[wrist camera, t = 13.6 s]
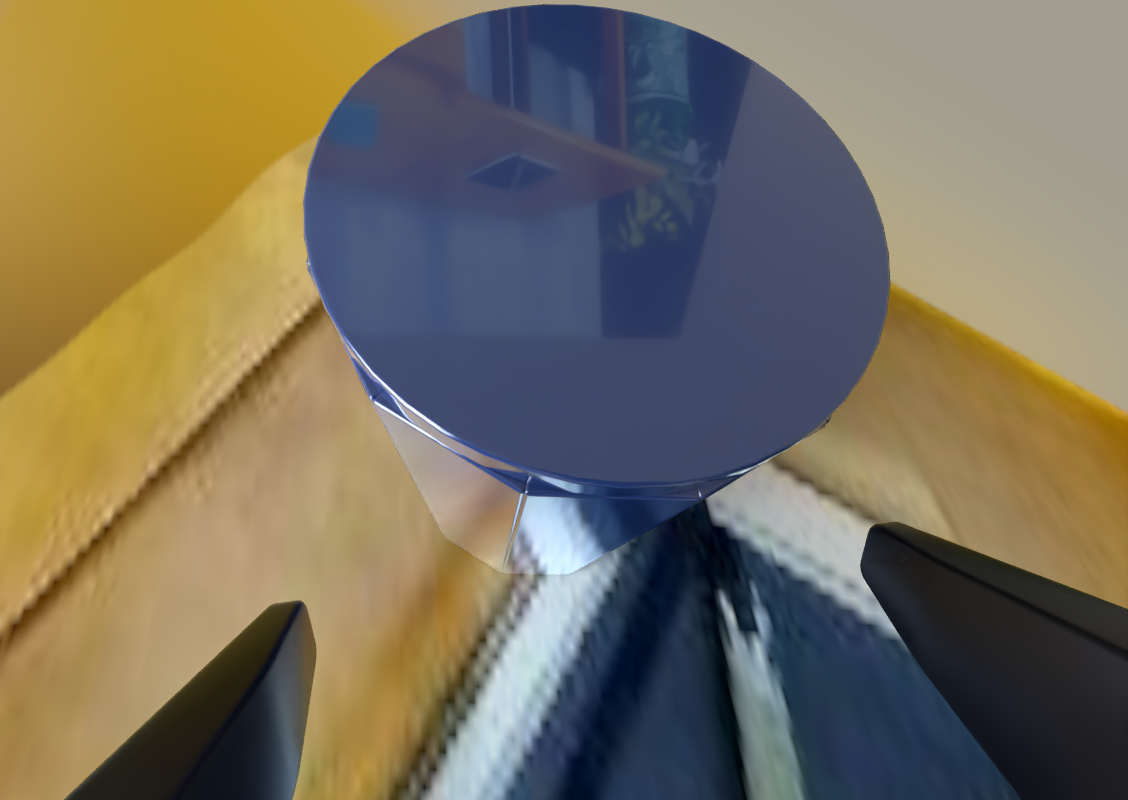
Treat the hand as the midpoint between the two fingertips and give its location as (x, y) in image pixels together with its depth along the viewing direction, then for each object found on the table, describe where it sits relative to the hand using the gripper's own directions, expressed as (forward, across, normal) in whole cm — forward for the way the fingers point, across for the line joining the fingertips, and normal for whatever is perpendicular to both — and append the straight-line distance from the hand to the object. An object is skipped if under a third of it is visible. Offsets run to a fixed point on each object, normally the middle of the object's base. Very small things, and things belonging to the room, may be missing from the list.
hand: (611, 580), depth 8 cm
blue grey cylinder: (+8, 0, +2) cm, 8 cm away
